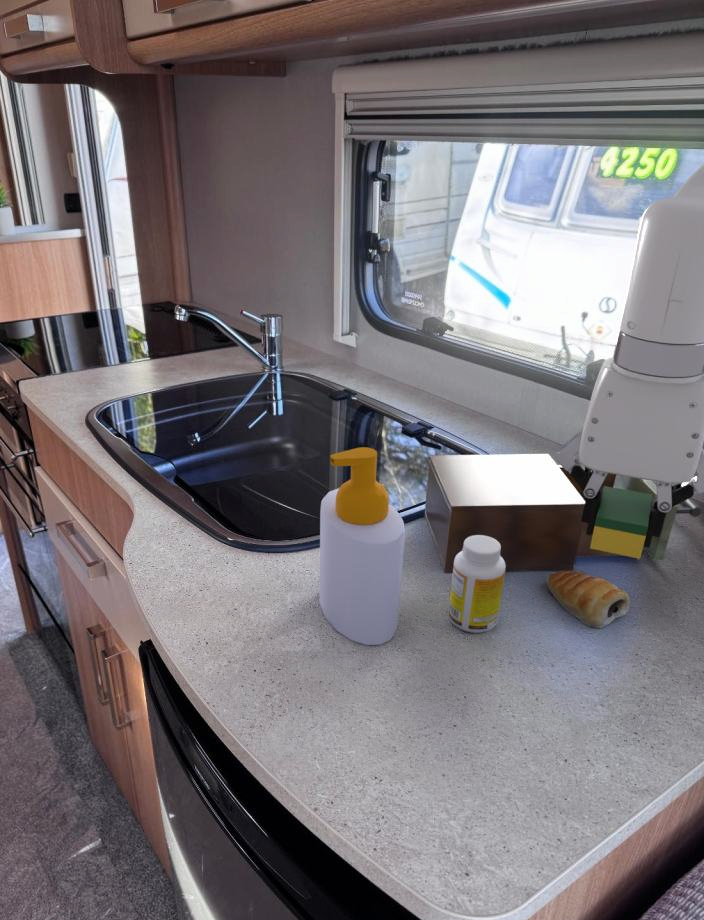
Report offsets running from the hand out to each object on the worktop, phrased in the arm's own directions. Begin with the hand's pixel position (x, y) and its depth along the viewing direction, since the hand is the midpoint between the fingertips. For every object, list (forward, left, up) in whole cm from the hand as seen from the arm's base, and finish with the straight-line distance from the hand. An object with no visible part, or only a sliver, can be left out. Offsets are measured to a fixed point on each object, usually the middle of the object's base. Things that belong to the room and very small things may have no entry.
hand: (618, 532), depth 71 cm
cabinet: (+5, -23, -15) cm, 27 cm away
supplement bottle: (+12, -6, -15) cm, 20 cm away
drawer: (-10, -23, -14) cm, 28 cm away
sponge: (0, 0, 0) cm, 0 cm away
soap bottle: (+25, -8, -15) cm, 30 cm away
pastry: (-2, -8, -15) cm, 17 cm away
